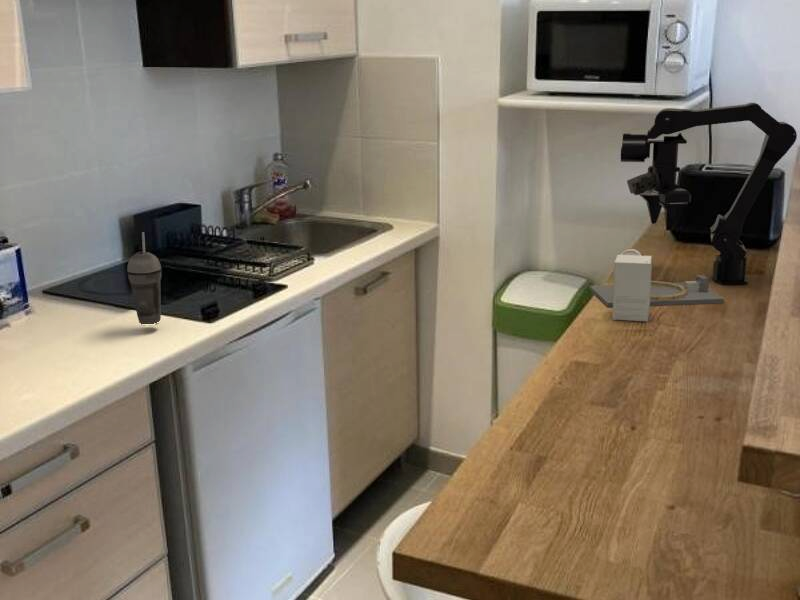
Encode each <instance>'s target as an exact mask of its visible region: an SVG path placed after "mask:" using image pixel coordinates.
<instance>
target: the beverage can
mask: <svg viewBox="0 0 800 600" xmlns="http://www.w3.org/2000/svg"><path fill="white" fill-rule="evenodd" d="M619 255H639V256H644V254H643V253H642V251H640V250H639V249H637V248H634V247H630V248H626V249H624V250H623V251H621V252H620V253H619Z"/></svg>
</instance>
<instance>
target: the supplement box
mask: <svg viewBox="0 0 800 600" xmlns="http://www.w3.org/2000/svg"><path fill="white" fill-rule="evenodd" d="M652 264H653V262H652V255H643V256H639V255H620V254H617V256H616V258H615V260H614V262H613V266H614V267H613V285H614V289H613V307H612V320H615V321H617V320H618V321H629V322H630V321H632V322H647V323H648V320H649V317H650V316H649V315H650V307H651V306H650V289H651V281H652V269H653V267H652V266H653V265H652Z"/></svg>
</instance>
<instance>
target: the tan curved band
mask: <svg viewBox="0 0 800 600" xmlns="http://www.w3.org/2000/svg"><path fill="white" fill-rule="evenodd" d="M709 280H710V279H709V277H707V276H705V275H704V274H696V275H695V280H687V281H686V280H684V281H683V282H684V287H683V286H681V285H678V284H673V283H674V282H667V281H658V280H651V285H656V286H666V287H670V288H674V289H678V290H679V291H681V293H678V294H674V295H666V296H654V295H650V300H675V299H679V298H683V297H685V296H686V295H687V292H708V289H709V283H710V282H709ZM613 289H614V286H613Z"/></svg>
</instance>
